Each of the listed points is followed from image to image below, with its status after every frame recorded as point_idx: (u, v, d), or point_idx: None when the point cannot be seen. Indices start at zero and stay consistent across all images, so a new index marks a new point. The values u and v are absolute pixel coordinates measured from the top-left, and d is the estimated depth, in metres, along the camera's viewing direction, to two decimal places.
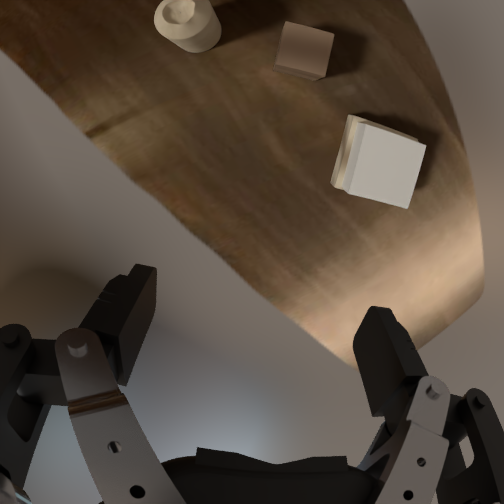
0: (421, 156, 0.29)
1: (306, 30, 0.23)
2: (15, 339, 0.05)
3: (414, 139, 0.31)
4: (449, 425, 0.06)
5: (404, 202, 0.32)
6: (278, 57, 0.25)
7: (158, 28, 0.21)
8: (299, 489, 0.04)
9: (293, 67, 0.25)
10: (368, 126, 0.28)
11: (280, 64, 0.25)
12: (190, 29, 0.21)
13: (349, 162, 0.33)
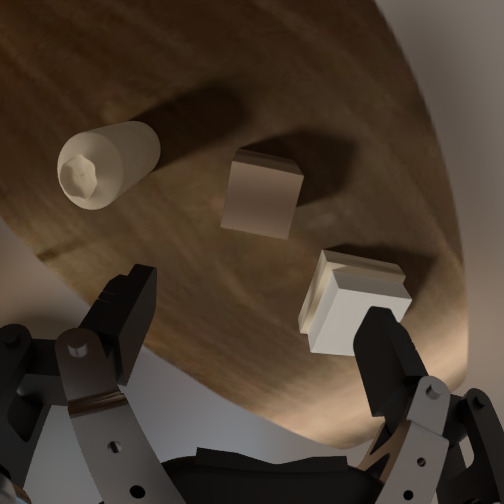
0: (403, 311, 0.27)
1: (262, 173, 0.20)
2: (15, 339, 0.05)
3: (401, 277, 0.28)
4: (449, 425, 0.06)
5: None
6: (223, 217, 0.22)
7: None
8: (299, 489, 0.04)
9: (244, 230, 0.22)
10: (341, 290, 0.25)
11: (226, 226, 0.22)
12: (99, 201, 0.18)
13: (317, 314, 0.30)
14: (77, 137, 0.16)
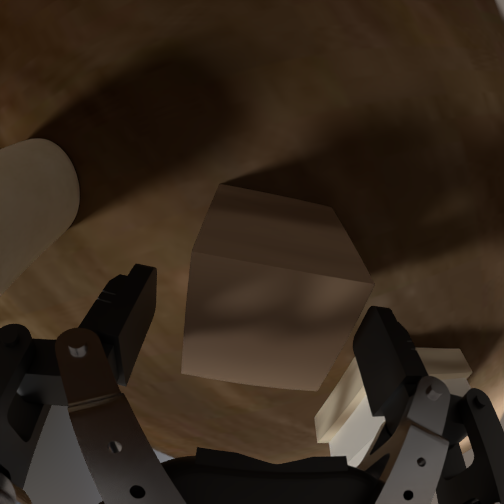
0: None
1: (273, 281, 0.08)
2: (15, 339, 0.05)
3: (466, 374, 0.16)
4: (449, 425, 0.06)
5: None
6: (185, 359, 0.10)
7: None
8: (299, 489, 0.04)
9: (230, 379, 0.10)
10: None
11: (194, 373, 0.10)
12: None
13: (346, 431, 0.17)
14: None
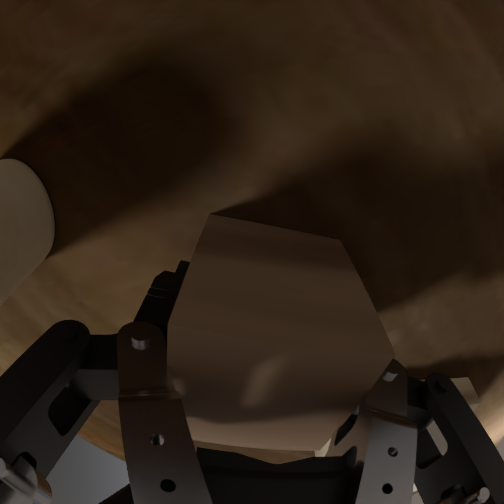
0: None
1: (271, 357, 0.06)
2: (73, 335, 0.06)
3: (474, 405, 0.14)
4: (408, 409, 0.07)
5: None
6: None
7: None
8: (299, 489, 0.04)
9: (223, 442, 0.08)
10: None
11: None
12: None
13: None
14: None
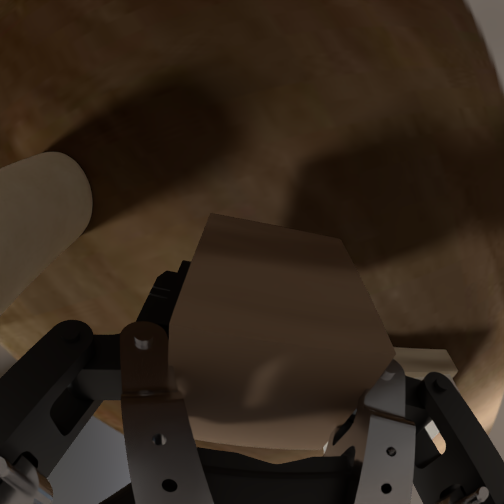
0: None
1: (272, 357, 0.06)
2: (76, 335, 0.06)
3: (452, 373, 0.17)
4: (406, 408, 0.07)
5: None
6: None
7: None
8: (299, 489, 0.04)
9: (224, 442, 0.08)
10: None
11: None
12: None
13: None
14: None
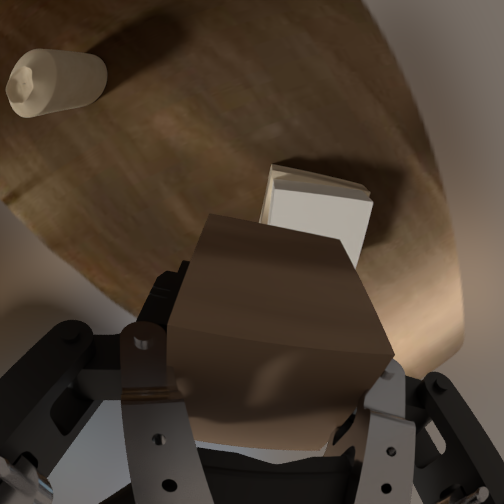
0: (366, 218, 0.23)
1: (271, 358, 0.06)
2: (76, 335, 0.06)
3: None
4: (406, 408, 0.07)
5: None
6: None
7: None
8: (299, 489, 0.04)
9: (223, 442, 0.08)
10: (278, 191, 0.23)
11: None
12: (35, 105, 0.15)
13: None
14: (24, 55, 0.14)
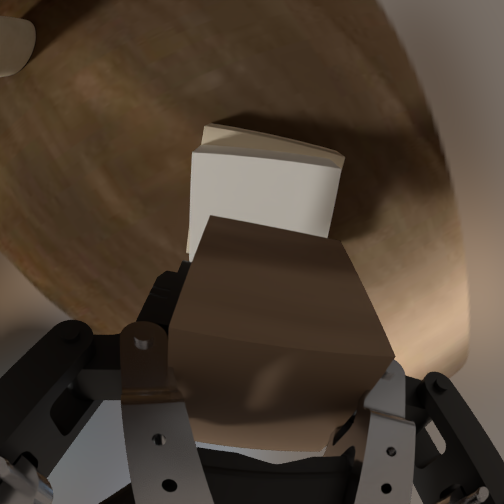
0: (332, 193, 0.16)
1: (272, 360, 0.06)
2: (76, 335, 0.06)
3: (336, 158, 0.18)
4: (405, 408, 0.07)
5: None
6: None
7: None
8: (299, 489, 0.04)
9: (224, 443, 0.08)
10: (197, 155, 0.15)
11: None
12: None
13: None
14: None
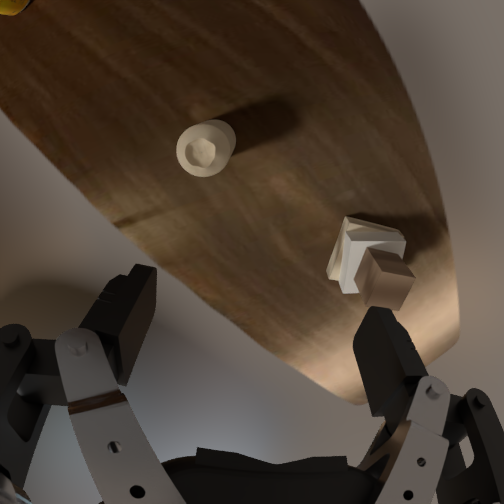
0: (402, 251, 0.37)
1: (395, 277, 0.32)
2: (15, 339, 0.05)
3: None
4: (449, 425, 0.06)
5: None
6: (368, 301, 0.34)
7: (181, 164, 0.29)
8: (299, 489, 0.04)
9: None
10: (353, 242, 0.37)
11: (369, 306, 0.34)
12: (212, 170, 0.29)
13: (342, 265, 0.41)
14: (197, 126, 0.28)
